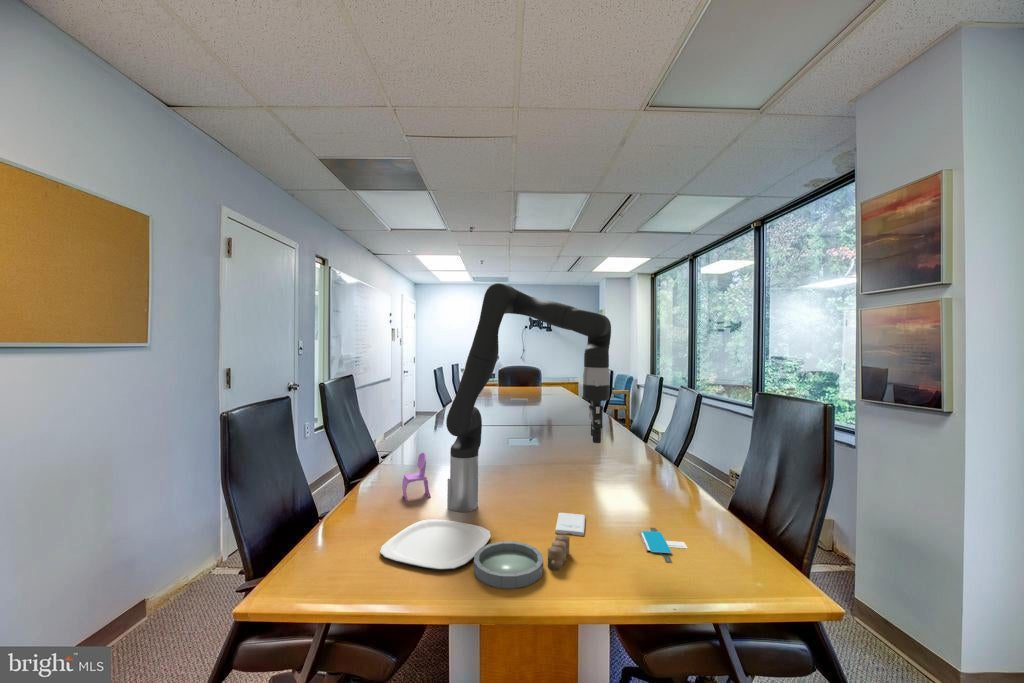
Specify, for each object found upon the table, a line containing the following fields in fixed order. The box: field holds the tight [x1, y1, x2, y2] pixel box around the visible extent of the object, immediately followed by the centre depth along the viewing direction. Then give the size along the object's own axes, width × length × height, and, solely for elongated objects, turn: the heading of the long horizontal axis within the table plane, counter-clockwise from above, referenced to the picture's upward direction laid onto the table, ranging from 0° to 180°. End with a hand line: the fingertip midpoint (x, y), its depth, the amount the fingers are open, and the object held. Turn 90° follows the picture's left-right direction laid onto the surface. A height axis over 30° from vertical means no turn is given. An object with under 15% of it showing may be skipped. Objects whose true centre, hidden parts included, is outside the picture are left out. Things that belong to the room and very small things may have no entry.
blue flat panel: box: [639, 527, 688, 564], centre depth 113 cm, size 20×12×2 cm, turn 173°
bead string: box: [547, 534, 570, 571], centre depth 104 cm, size 4×11×4 cm, turn 158°
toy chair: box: [401, 452, 432, 502], centre depth 147 cm, size 8×9×15 cm
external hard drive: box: [555, 512, 586, 536], centre depth 125 cm, size 2×8×12 cm
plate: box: [379, 518, 492, 571], centre depth 111 cm, size 25×25×2 cm
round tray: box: [473, 540, 544, 590], centre depth 100 cm, size 16×16×3 cm
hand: (595, 439), depth 120 cm, fingers open, 8 cm apart
